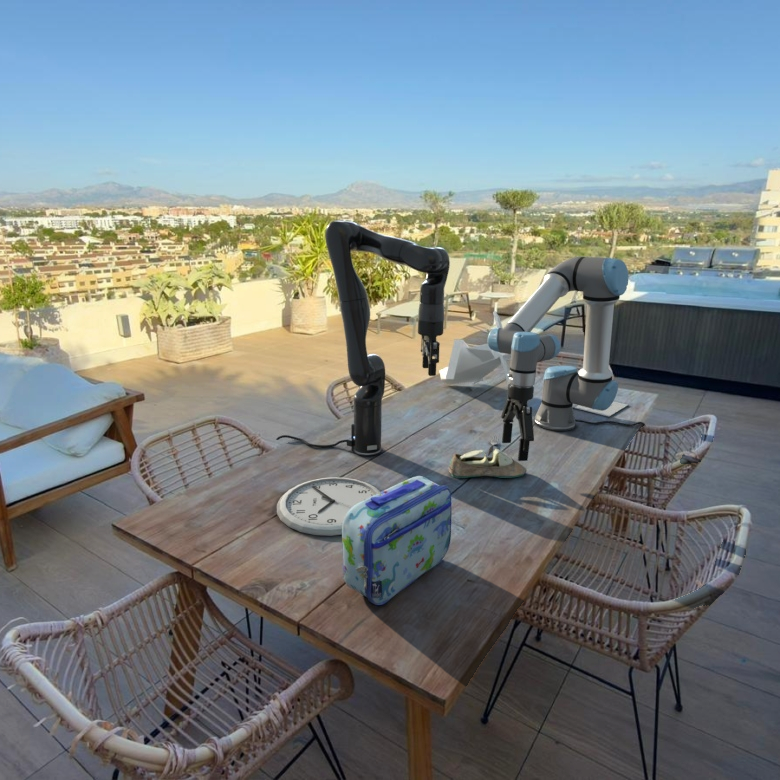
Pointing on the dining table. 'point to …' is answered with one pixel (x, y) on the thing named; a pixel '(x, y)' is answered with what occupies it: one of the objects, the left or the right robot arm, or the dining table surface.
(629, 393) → the dining table surface
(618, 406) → the invitation card
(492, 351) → the white plastic object
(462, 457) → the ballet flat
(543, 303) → the right robot arm
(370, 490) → the wall clock
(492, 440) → the fork
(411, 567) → the lunch box
